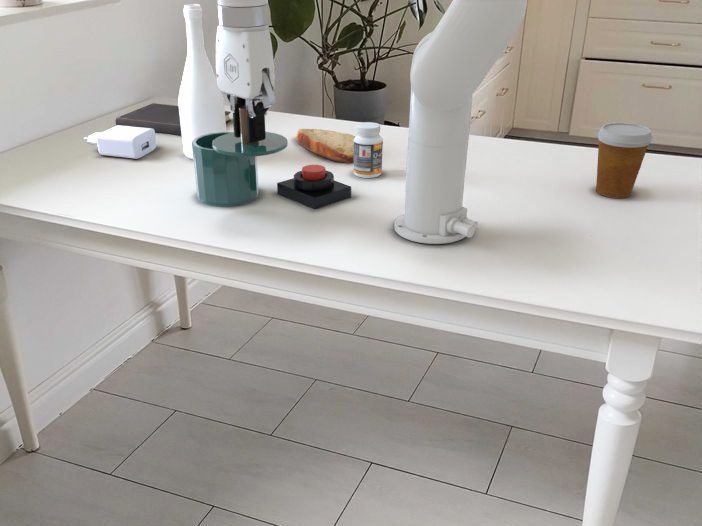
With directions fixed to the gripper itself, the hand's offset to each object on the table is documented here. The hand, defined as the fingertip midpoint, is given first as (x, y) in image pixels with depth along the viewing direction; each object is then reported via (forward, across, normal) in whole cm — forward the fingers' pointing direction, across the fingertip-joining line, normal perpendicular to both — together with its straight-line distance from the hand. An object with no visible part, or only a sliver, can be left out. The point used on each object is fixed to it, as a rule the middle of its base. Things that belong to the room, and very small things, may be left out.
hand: (249, 137), depth 123 cm
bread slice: (+15, -23, +37) cm, 46 cm away
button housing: (+15, -3, +16) cm, 22 cm away
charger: (+15, -54, +2) cm, 56 cm away
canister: (+15, -14, +4) cm, 21 cm away
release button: (+11, -3, +16) cm, 20 cm away
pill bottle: (+15, -5, +32) cm, 36 cm away
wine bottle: (+15, -38, +15) cm, 43 cm away
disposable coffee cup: (+15, +34, +59) cm, 70 cm away
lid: (+1, 0, 0) cm, 1 cm away
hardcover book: (+15, -64, +23) cm, 70 cm away
